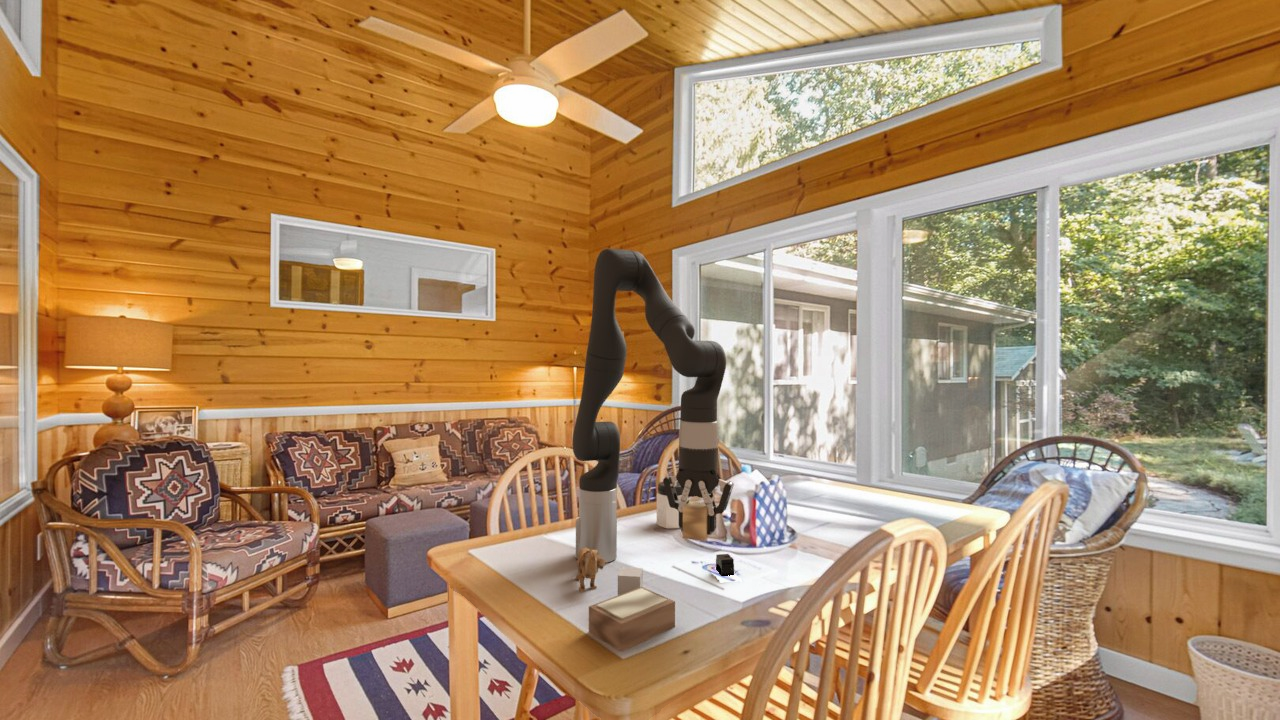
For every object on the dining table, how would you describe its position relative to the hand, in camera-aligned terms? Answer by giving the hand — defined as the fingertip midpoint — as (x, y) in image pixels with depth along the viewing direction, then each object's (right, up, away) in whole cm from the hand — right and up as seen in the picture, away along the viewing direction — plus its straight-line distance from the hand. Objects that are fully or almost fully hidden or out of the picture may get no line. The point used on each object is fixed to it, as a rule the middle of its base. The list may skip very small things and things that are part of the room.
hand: (697, 531), depth 113 cm
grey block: (-13, -16, +5) cm, 21 cm away
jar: (-2, -15, +58) cm, 60 cm away
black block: (+8, -16, +20) cm, 27 cm away
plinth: (-12, -16, -7) cm, 21 cm away
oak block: (0, -1, 0) cm, 1 cm away
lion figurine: (-22, -16, +14) cm, 31 cm away
